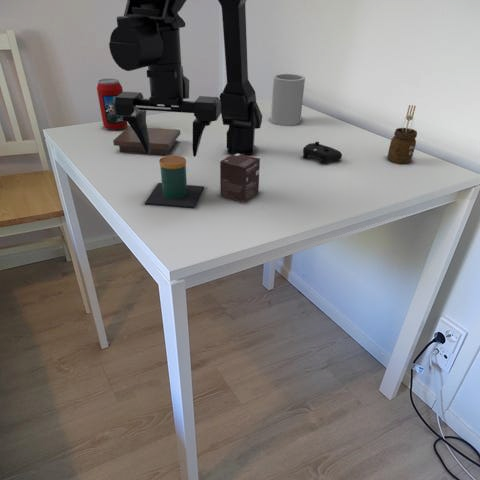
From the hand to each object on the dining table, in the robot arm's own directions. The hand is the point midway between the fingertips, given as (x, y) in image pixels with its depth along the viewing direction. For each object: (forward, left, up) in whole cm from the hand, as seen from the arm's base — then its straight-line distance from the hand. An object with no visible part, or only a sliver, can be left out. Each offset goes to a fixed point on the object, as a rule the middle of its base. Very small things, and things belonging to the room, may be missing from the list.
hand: (171, 154), depth 82 cm
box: (-13, -3, -9) cm, 16 cm away
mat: (0, 0, -8) cm, 9 cm away
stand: (+14, -28, -8) cm, 32 cm away
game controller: (-30, -28, -9) cm, 42 cm away
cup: (-20, -59, -9) cm, 63 cm away
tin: (0, 0, -8) cm, 8 cm away
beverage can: (+28, -42, -9) cm, 51 cm away
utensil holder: (-50, -31, -9) cm, 60 cm away
